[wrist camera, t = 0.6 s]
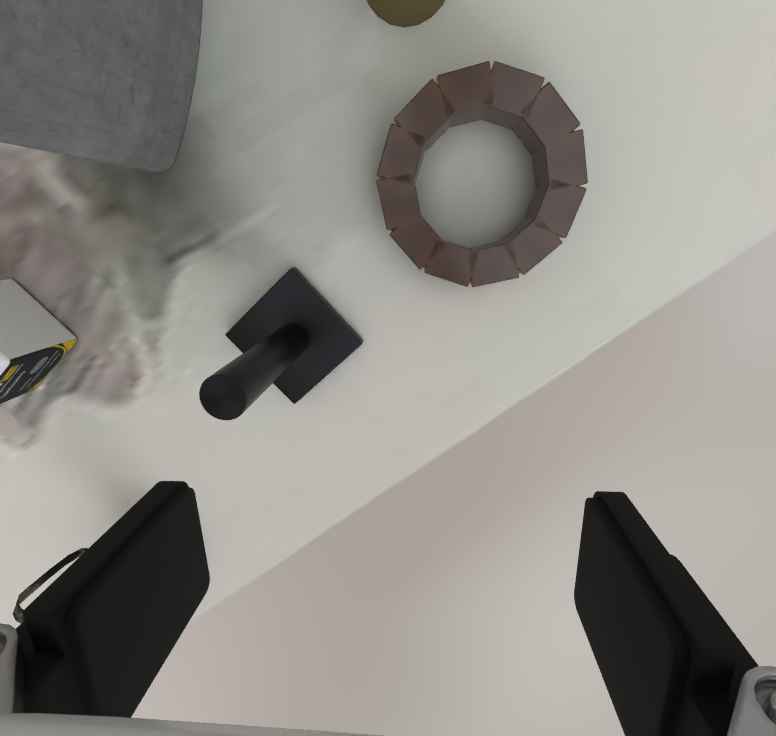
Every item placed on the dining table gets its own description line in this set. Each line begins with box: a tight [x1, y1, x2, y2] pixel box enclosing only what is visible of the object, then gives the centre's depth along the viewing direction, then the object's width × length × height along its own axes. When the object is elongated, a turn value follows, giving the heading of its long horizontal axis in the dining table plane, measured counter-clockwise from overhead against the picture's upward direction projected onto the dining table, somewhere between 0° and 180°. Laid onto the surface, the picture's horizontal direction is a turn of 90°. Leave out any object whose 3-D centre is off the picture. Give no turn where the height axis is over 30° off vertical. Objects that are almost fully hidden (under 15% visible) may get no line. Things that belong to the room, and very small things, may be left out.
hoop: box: [377, 61, 588, 287], centre depth 31 cm, size 13×13×4 cm
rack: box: [199, 267, 363, 420], centre depth 31 cm, size 8×8×14 cm
